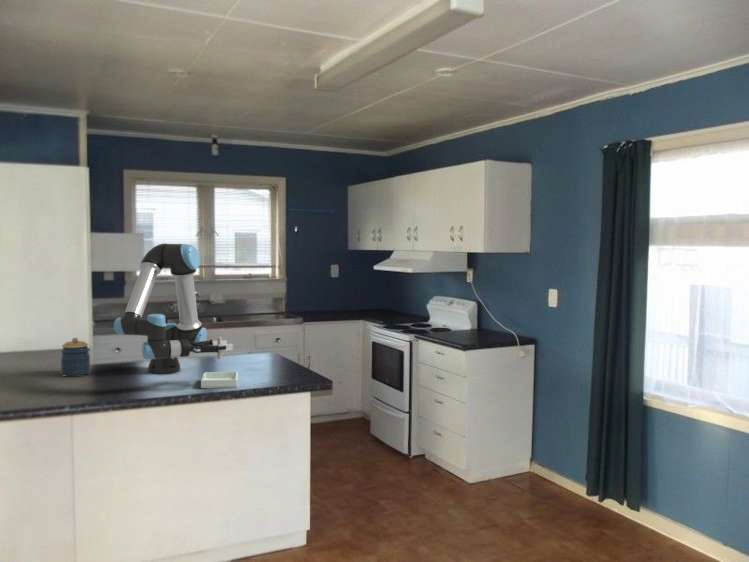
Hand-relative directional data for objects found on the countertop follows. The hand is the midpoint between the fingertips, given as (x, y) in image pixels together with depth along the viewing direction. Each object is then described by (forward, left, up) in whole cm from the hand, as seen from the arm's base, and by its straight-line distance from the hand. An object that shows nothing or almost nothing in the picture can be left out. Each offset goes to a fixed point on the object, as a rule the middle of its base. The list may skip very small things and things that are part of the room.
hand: (229, 345), depth 295 cm
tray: (-4, -1, -18) cm, 18 cm away
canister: (-73, +23, -18) cm, 79 cm away
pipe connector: (-4, -2, -6) cm, 8 cm away
